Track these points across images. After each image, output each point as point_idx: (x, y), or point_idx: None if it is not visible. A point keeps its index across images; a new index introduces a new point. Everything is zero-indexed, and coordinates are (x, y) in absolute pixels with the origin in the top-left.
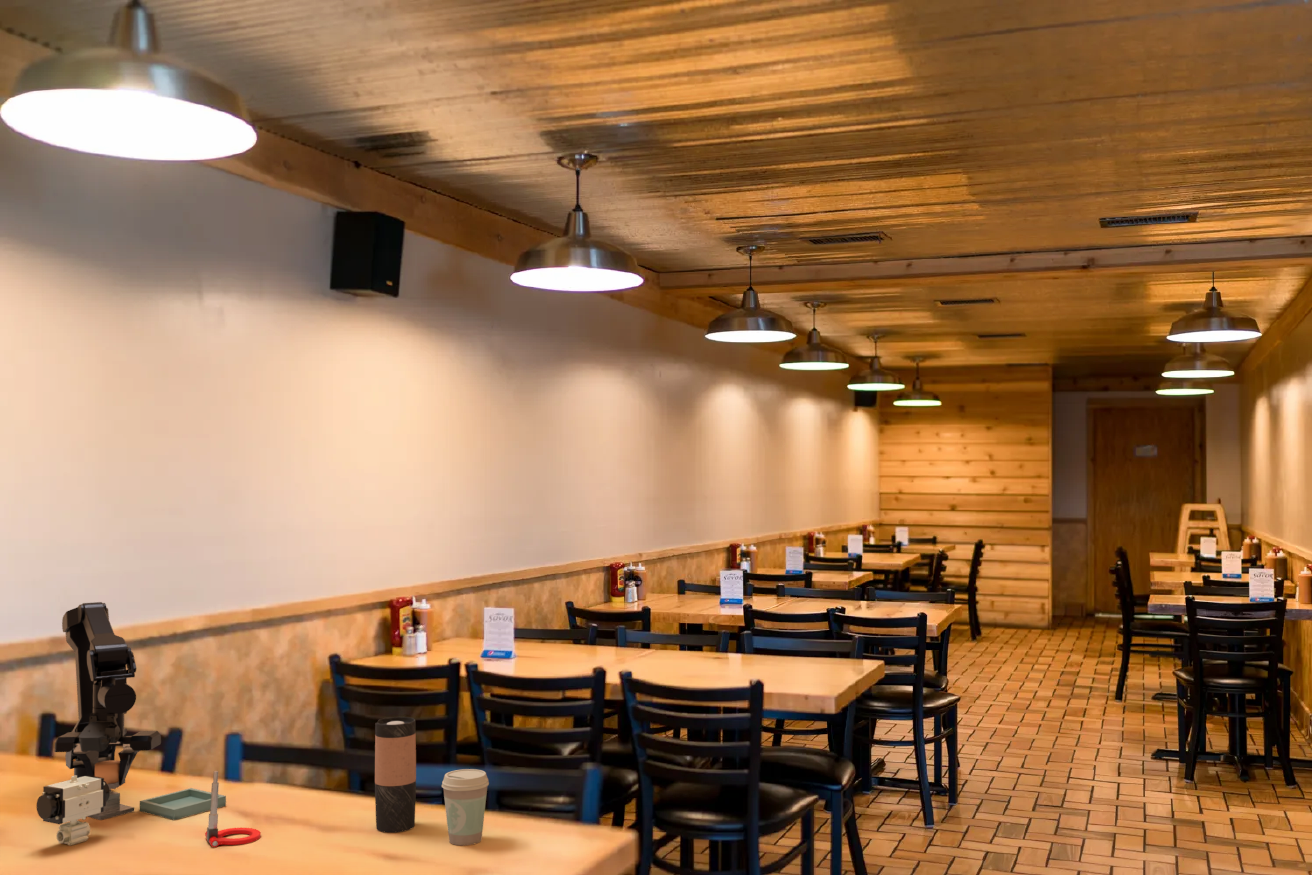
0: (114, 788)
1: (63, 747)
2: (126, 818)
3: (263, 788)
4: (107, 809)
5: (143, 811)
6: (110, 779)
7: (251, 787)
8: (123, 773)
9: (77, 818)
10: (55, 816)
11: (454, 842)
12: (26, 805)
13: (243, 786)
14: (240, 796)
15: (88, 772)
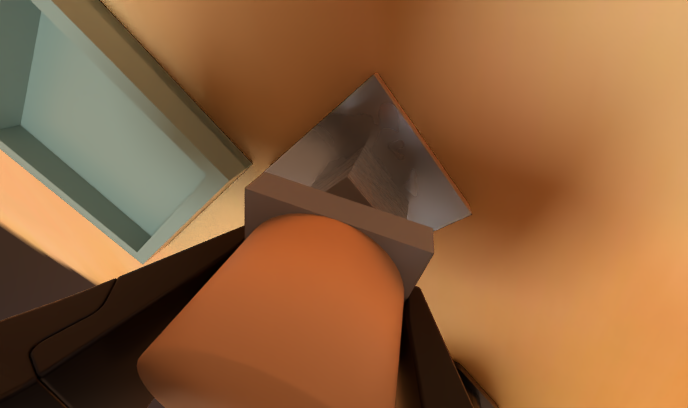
0: (268, 175)
1: None
2: (267, 63)
3: (54, 246)
4: (352, 157)
5: (231, 143)
6: (269, 233)
7: (84, 264)
8: (166, 260)
9: None
10: None
11: None
12: (651, 392)
13: (105, 278)
14: (55, 204)
15: (457, 387)
